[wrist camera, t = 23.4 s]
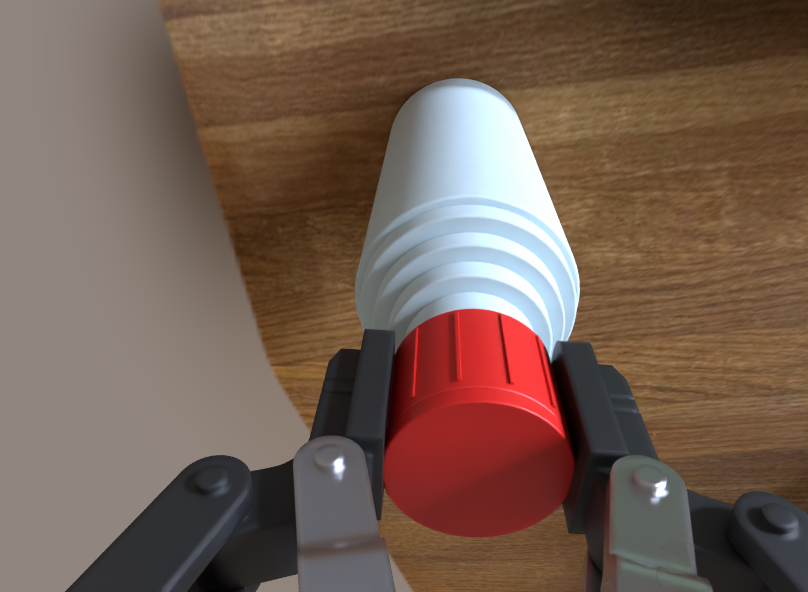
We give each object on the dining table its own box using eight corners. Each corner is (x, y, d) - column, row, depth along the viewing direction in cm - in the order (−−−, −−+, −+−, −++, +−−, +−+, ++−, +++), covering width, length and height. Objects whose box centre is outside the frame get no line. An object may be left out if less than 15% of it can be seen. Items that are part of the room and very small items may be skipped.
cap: (389, 427, 16) (378, 532, 13) (394, 302, 14) (382, 395, 11) (538, 437, 16) (558, 544, 13) (563, 312, 14) (594, 408, 11)
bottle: (387, 205, 31) (323, 546, 14) (391, 74, 28) (313, 315, 11) (513, 212, 31) (602, 566, 14) (532, 81, 28) (678, 337, 11)
